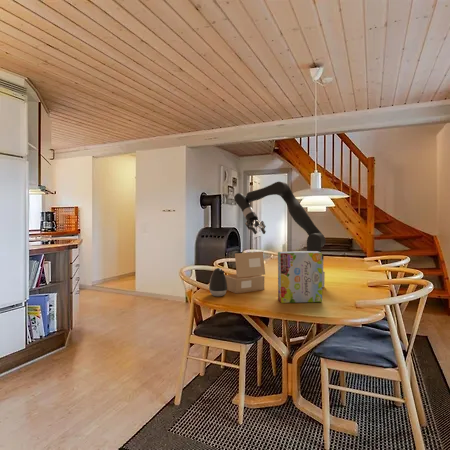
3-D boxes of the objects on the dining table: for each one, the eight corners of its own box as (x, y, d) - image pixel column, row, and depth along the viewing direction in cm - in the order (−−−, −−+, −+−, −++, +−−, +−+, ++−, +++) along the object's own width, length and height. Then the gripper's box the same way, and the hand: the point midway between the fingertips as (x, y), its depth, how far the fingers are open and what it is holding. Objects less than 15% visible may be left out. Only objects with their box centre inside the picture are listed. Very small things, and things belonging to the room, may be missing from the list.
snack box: (317, 298, 177) (318, 250, 177) (322, 303, 169) (323, 252, 168) (277, 298, 177) (277, 250, 176) (280, 303, 168) (280, 252, 167)
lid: (264, 274, 198) (265, 274, 197) (236, 277, 188) (237, 277, 187) (262, 251, 199) (263, 251, 199) (234, 253, 189) (235, 253, 189)
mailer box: (264, 289, 198) (264, 276, 198) (236, 293, 188) (236, 279, 188) (250, 285, 211) (251, 272, 210) (223, 288, 200) (223, 275, 200)
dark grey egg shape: (216, 298, 176) (216, 270, 176) (205, 294, 185) (205, 267, 184) (231, 296, 182) (231, 268, 182) (220, 292, 191) (220, 266, 190)
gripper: (243, 211, 223) (253, 229, 214) (261, 211, 231) (271, 229, 221) (239, 219, 228) (249, 237, 218) (256, 219, 236) (266, 236, 226)
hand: (260, 233), depth 220 cm, fingers open, 6 cm apart
